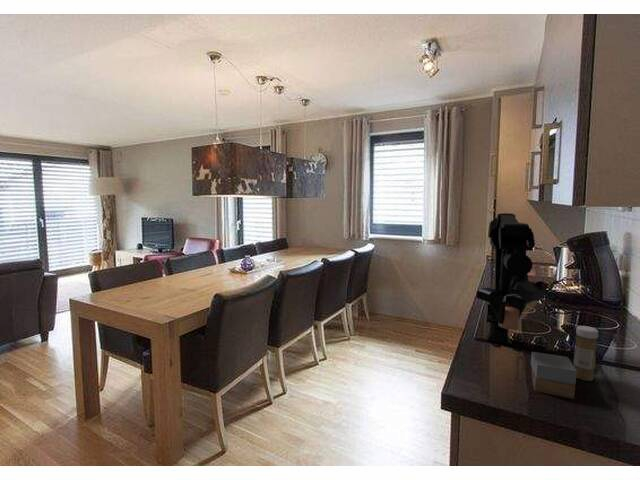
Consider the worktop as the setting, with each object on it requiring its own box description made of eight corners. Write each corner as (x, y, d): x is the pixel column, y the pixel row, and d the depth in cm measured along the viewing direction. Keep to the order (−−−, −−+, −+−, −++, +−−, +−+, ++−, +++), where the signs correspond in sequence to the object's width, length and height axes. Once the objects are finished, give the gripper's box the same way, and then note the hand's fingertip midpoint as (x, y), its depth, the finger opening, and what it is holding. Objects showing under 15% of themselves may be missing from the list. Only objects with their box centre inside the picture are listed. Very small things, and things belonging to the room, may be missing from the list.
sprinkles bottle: (596, 378, 92) (601, 329, 91) (588, 383, 90) (593, 333, 88) (576, 371, 96) (581, 323, 95) (568, 375, 94) (573, 327, 92)
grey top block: (530, 364, 94) (531, 351, 93) (566, 369, 91) (567, 356, 90) (536, 378, 86) (537, 364, 86) (575, 385, 83) (576, 371, 83)
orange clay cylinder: (498, 322, 103) (499, 305, 103) (517, 324, 101) (519, 308, 100) (498, 327, 99) (499, 310, 98) (518, 330, 97) (519, 313, 96)
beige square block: (531, 377, 94) (532, 364, 93) (567, 384, 90) (568, 371, 90) (534, 392, 87) (535, 378, 86) (573, 400, 83) (575, 386, 83)
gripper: (509, 277, 87) (505, 337, 89) (564, 272, 93) (559, 329, 95) (476, 268, 98) (473, 322, 100) (528, 264, 104) (524, 315, 106)
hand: (508, 322), depth 100 cm, fingers closed on orange clay cylinder, 5 cm apart
